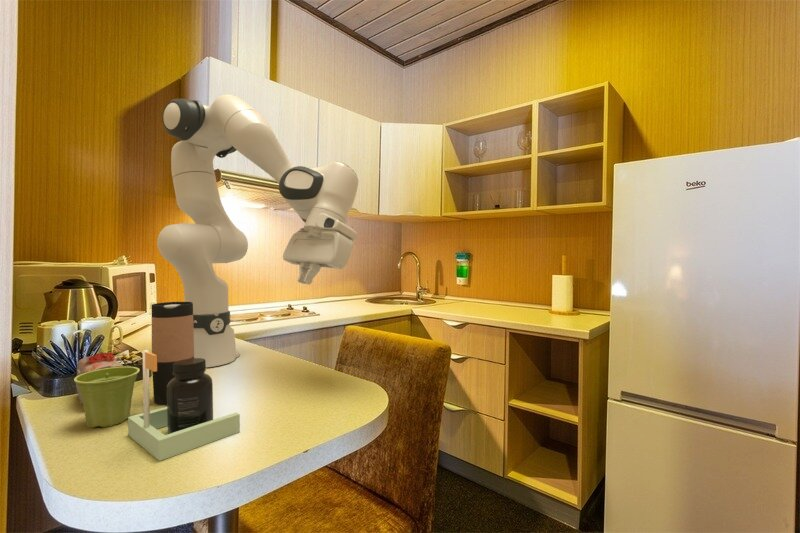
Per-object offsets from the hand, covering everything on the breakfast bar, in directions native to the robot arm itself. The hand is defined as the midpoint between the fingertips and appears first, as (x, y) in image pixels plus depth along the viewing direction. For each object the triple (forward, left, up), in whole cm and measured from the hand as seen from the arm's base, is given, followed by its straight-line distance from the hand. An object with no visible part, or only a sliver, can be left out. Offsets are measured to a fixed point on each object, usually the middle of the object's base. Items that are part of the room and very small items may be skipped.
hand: (303, 283), depth 87 cm
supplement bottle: (+3, -26, -24) cm, 35 cm away
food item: (-28, -31, -24) cm, 48 cm away
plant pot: (-13, -33, -24) cm, 43 cm away
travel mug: (-16, -21, -24) cm, 36 cm away
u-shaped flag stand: (+3, -26, -24) cm, 36 cm away
